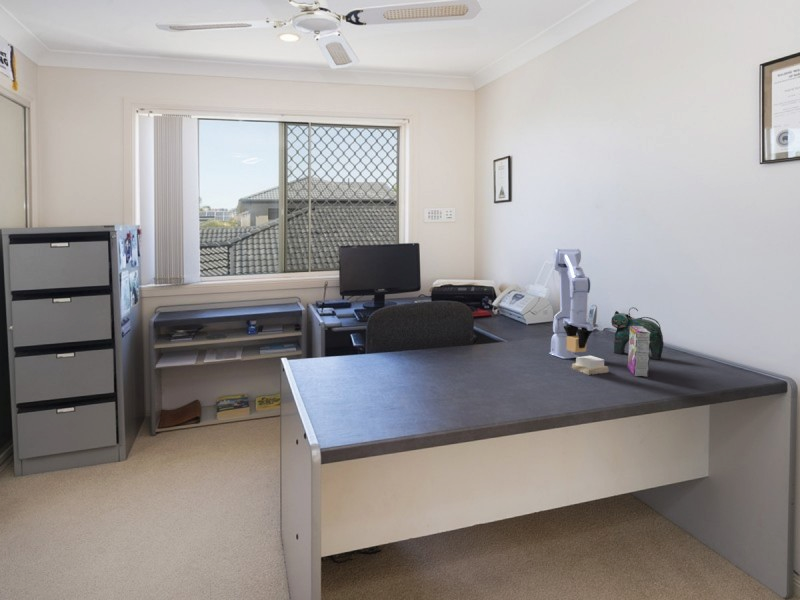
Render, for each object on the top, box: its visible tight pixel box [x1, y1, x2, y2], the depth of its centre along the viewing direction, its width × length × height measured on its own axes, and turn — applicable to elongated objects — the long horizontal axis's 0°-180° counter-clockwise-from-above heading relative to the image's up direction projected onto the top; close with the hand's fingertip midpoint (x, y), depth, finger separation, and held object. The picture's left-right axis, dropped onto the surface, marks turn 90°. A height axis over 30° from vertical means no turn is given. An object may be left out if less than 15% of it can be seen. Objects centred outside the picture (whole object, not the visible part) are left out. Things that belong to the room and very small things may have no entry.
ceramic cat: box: [611, 306, 665, 360], centre depth 214 cm, size 20×6×20 cm, turn 49°
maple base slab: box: [571, 362, 609, 376], centre depth 194 cm, size 9×9×2 cm
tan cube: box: [566, 334, 588, 354], centre depth 194 cm, size 5×5×5 cm
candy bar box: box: [627, 326, 651, 378], centre depth 190 cm, size 11×5×16 cm, turn 168°
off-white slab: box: [575, 355, 605, 369], centre depth 194 cm, size 7×7×2 cm
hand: (576, 346), depth 194 cm, fingers closed on tan cube, 5 cm apart
